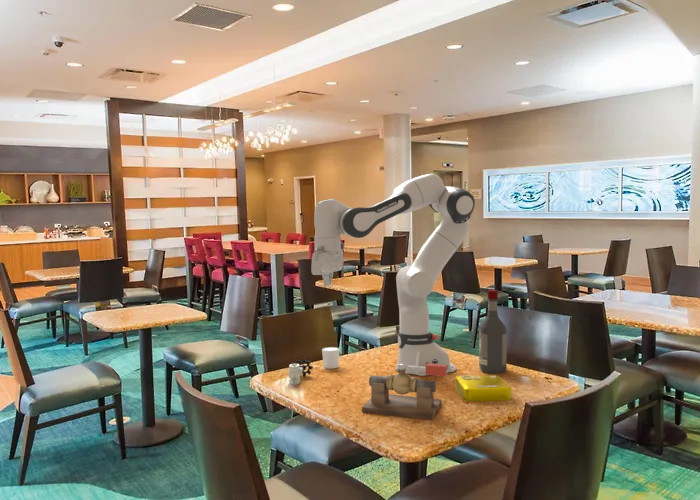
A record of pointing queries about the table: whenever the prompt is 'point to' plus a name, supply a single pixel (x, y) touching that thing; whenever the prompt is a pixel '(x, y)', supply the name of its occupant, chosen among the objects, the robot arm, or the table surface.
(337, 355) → the white cylinder
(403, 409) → the valve stand
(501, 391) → the element tile
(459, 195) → the robot arm
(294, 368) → the valve
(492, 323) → the liquor
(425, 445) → the table surface
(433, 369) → the valve lever
